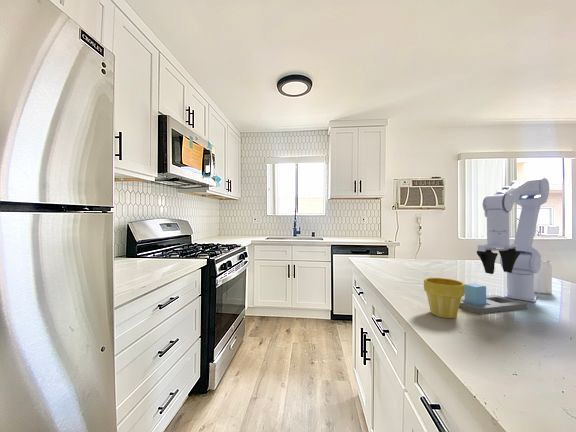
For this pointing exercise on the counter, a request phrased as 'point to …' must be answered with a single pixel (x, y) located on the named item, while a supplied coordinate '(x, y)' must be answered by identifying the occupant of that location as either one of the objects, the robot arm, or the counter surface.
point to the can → (543, 278)
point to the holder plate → (494, 305)
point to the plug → (475, 294)
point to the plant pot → (444, 296)
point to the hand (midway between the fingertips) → (498, 272)
